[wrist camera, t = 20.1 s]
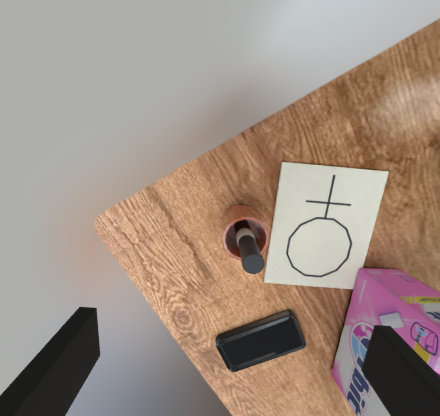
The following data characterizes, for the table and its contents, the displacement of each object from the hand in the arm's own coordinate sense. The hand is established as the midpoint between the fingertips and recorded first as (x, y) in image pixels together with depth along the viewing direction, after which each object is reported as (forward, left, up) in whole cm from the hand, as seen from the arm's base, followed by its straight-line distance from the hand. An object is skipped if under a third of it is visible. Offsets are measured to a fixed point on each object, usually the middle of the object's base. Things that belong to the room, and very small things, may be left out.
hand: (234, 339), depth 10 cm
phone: (+24, +9, -25) cm, 35 cm away
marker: (+2, +3, -24) cm, 24 cm away
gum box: (+19, +27, -25) cm, 41 cm away
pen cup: (+2, +3, -25) cm, 25 cm away
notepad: (+2, +16, -25) cm, 29 cm away
